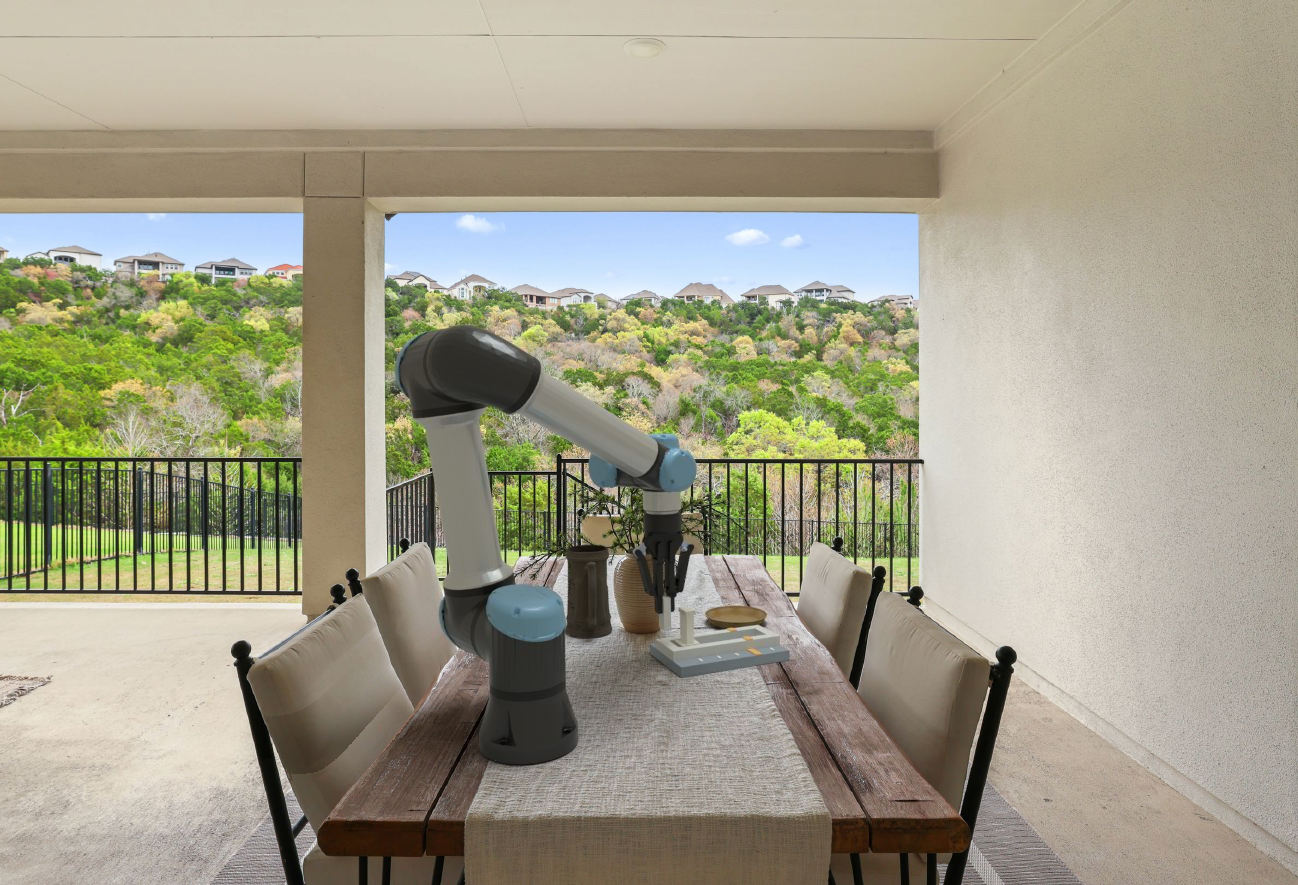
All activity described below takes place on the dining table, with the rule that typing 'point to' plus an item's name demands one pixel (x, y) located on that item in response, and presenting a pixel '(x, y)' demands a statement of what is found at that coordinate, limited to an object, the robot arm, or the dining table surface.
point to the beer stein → (588, 592)
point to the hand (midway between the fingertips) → (665, 628)
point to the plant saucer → (735, 616)
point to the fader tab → (686, 627)
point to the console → (721, 651)
